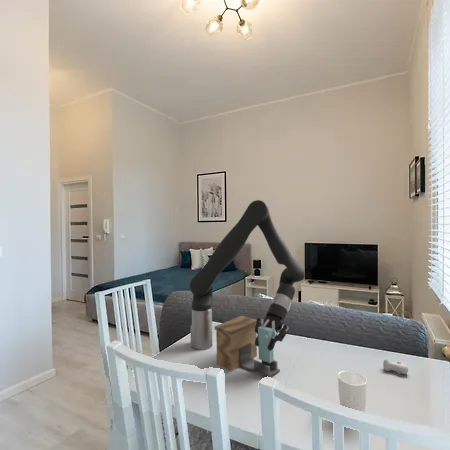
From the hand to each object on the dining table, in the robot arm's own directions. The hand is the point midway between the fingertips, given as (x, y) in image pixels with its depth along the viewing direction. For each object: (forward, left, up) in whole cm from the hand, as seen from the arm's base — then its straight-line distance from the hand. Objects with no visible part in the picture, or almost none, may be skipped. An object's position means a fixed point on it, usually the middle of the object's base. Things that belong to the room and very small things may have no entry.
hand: (262, 347), depth 106 cm
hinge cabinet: (-6, +5, -10) cm, 12 cm away
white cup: (+29, -14, -10) cm, 34 cm away
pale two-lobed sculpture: (+47, +15, -10) cm, 51 cm away
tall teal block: (+1, +2, -5) cm, 6 cm away
